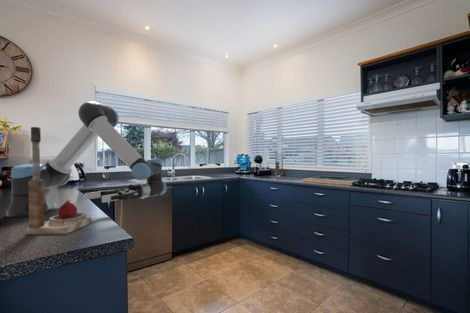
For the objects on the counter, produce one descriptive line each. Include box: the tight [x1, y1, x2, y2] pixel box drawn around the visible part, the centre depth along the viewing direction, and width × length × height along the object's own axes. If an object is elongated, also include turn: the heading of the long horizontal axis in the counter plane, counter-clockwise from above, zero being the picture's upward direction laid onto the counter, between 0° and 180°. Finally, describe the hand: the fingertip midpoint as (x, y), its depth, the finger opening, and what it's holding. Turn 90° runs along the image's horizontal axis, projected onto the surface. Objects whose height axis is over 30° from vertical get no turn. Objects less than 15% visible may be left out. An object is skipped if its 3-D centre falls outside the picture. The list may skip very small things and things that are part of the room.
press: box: [25, 126, 92, 235], centre depth 90 cm, size 14×14×37 cm
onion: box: [57, 199, 78, 219], centre depth 91 cm, size 6×6×8 cm
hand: (93, 197), depth 99 cm, fingers open, 13 cm apart
